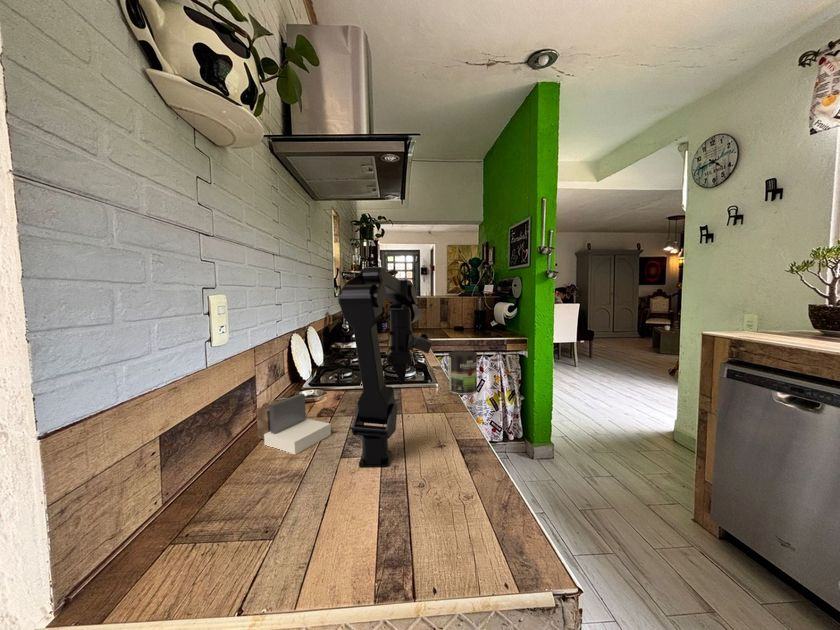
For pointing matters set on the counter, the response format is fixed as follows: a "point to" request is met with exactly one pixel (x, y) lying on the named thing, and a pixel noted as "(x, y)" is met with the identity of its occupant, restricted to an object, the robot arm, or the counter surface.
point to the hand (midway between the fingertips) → (402, 382)
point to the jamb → (263, 420)
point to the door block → (298, 436)
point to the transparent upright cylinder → (462, 372)
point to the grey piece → (287, 413)
